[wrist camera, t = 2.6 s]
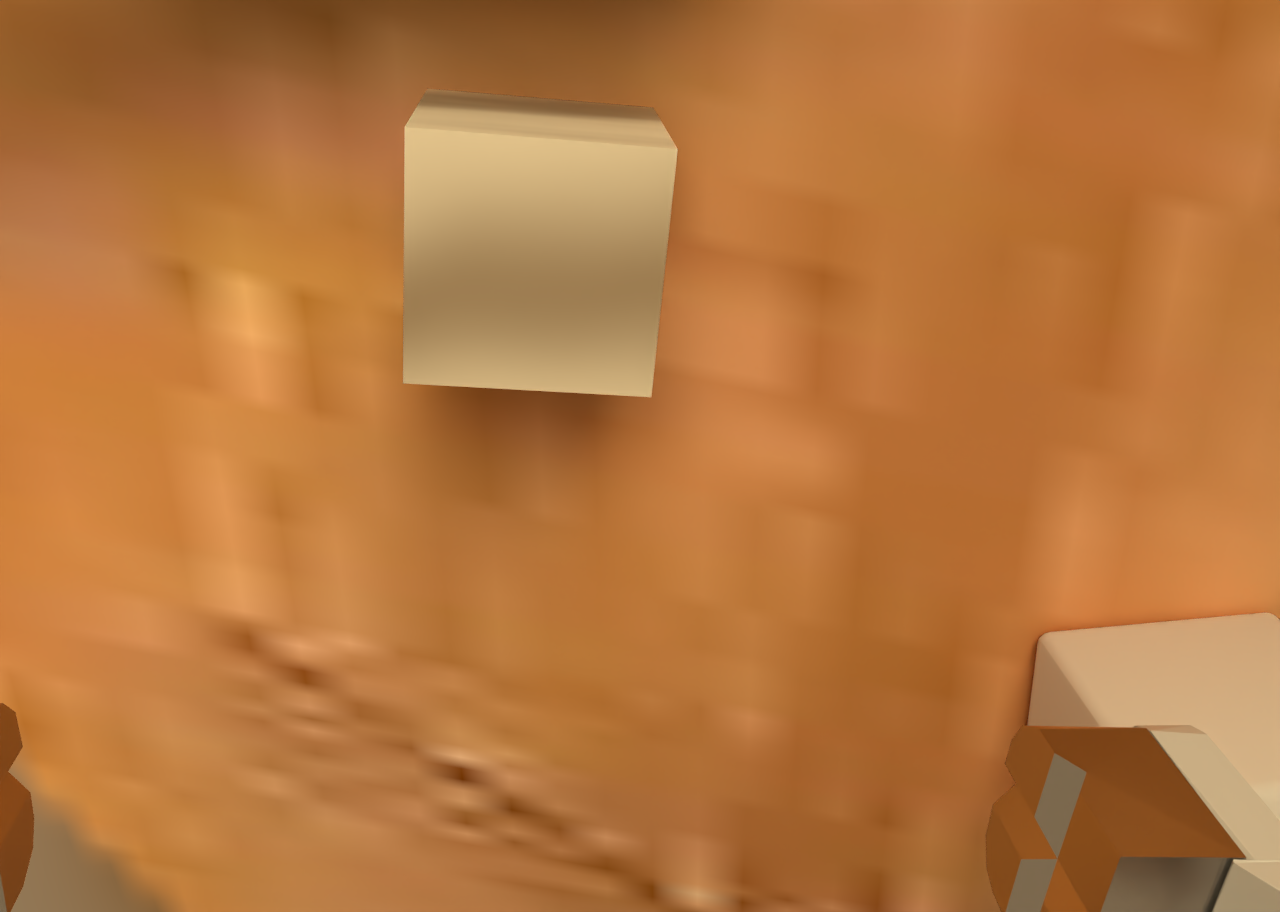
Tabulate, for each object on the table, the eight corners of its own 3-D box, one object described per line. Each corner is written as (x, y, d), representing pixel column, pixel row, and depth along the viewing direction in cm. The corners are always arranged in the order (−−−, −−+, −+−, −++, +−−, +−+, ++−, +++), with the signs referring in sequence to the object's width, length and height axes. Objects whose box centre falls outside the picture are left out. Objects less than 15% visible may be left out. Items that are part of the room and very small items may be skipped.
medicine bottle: (1011, 816, 36) (1216, 1206, 25) (1034, 628, 33) (1279, 980, 22) (1230, 794, 36) (1524, 1168, 26) (1274, 606, 33) (1629, 942, 22)
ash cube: (427, 87, 25) (404, 126, 21) (652, 107, 26) (678, 148, 21) (424, 304, 27) (402, 383, 23) (633, 318, 28) (651, 397, 23)
